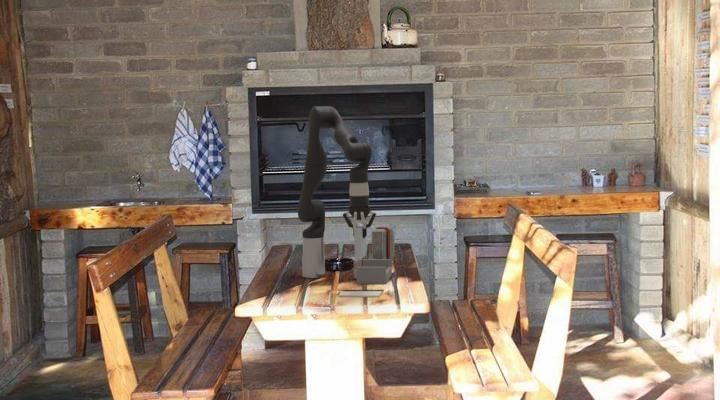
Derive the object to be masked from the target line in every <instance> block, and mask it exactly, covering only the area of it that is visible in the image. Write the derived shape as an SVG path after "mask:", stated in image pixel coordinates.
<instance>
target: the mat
mask: <svg viewBox="0 0 720 400" xmlns="http://www.w3.org/2000/svg"><path fill="white" fill-rule="evenodd" d="M384 290H385V289H342V290H341V292H340V293H339V294H338V297H339V298H340V297H343V298H380V297H381V295H383V293H384Z"/></svg>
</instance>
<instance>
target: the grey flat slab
mask: <svg viewBox="0 0 720 400" xmlns="http://www.w3.org/2000/svg"><path fill="white" fill-rule="evenodd" d="M353 239H354V261H363V259H364V257H365V256H366V255H367V236H366V237H365V238H363V224H362V223H361V224H357V227H356V228H355V229H354V236H353Z"/></svg>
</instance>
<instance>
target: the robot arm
mask: <svg viewBox="0 0 720 400" xmlns="http://www.w3.org/2000/svg"><path fill="white" fill-rule="evenodd" d="M322 129H333V130H334V131H333V138H334V140H335V142H336V143H337V144H338V145H339V147H340V148H341V150H342V151H343V154H344V157H345V159H346V160H347V161H349V162H359V163H358V165H356V166H354V167H351V168H350V170H349V192H348V193H349V208H348V211H346V212H344V213H343V214H342V217H343V218H344V220H345V222H346V224H347V226H348V227H349V228H352V232H353V234H352V235H353V237H354V229H355V228H356V227H357V226H358V222H359V220H360V221H361V224H363V238H365V237H366V238H367V235H368V234H367V233H368V230H367V229H368V228H371V226H372V225H373V223H374V220H375V218H376V216H377V213H376V212H374V211H372V210H371V208H370V191H369V190H370V189H369V183H368V182H369V175H368V173H369V169H370V168H369V167H370V162H371V159H372V154H373V152H372V147H371V145H370V143H368V142H359V140H358V137H356V135H355V134H354V133H353V132H352V131H351V130H350V129H349V128H348V127H347V125H346V124H345V122H344V120H343V118H342V117H341V115H340V113H339V112H338V110H337V109H336V108H335V107H333V106H331V105H325V106H324V105H322V106H320V105H319V106H318V105H317V106H316V105H315V106H313V107H312V108H311V109H310V112H309V116H308V139H307V149H306V156H305V164H304V171H303V180H302V186H301V191H300V196H299V201H298V206H297V216H298V219H299V221H300V222H302V223H310V222H311V224H310V226H308V227H307V228H305V229H304V230H302V254H301V265H302V266H301V268H302V278H307V279H319V278H321V277H322V275H325V274H326V267H325V266H326V264H325V263H326V261H325V260H326V259H325V228H326V208H325V204H324V202H323V200H321V199H313V195H314V194H315V191H316V190H317V187H318V186H319V185H320V184H321V183H322V181H323V180H324V178H325V176H326V173H327V170H328V169H327V167H328V155H327V153H326V150H325V149H324V147H323V144H322V143H321V140H320V132H321V131H320V130H322ZM350 216H351V217H352V219H353V222H352V220H351V219H350ZM368 216H370V219H369V221H368V223H367V218H368Z"/></svg>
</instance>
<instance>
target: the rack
mask: <svg viewBox="0 0 720 400" xmlns="http://www.w3.org/2000/svg"><path fill="white" fill-rule="evenodd" d="M355 267H356V268H355V269H356V275H357V279H356V284H357V285H360V284H361V285H362V284H363V285H365V284H366V285H386V284H387V283H388V282H389V280H390V278H391V277H392V274H393V273H392V265H391V259H372V258H362V266H355Z"/></svg>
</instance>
